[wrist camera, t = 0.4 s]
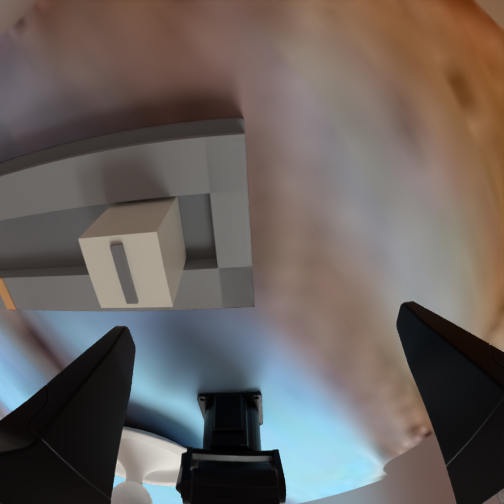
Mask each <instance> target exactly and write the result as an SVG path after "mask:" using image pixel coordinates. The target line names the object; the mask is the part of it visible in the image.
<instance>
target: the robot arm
mask: <svg viewBox="0 0 504 504" xmlns="http://www.w3.org/2000/svg"><path fill="white" fill-rule="evenodd" d="M396 326H397V330H398V333H399V337H400V340H401V343H402V346H403V349H404V353H405V356H406V359H407V362H408V365H409V368H410V370H411V373H412V375H413V377H414V380H415V382H416V385H417V387H418V390H419V392H420V395H421V397H422V400H423V402H424V405H425V407H426V410H427V413H428V415H429V418H430V421H431V423H432V426H433V429H434V432H435V435H436V437H437V440H438V443H439V446H440V449H441V452H442V455H443V458H444V461H445V464H446V468H447V471H448V475H449V478H450V481H451V485H452V488H453V491H454V495H455V499H456V503H457V504H485V503H487V502H489V501H491V500H492V499H494V498H495V497H497V498H498V500H499V503H500V504H504V352H503V351H501V350H499V349H497V348H496V347H494V346H492V345H489V343H487V342H485V341H483V340H482V339H480V338H478V337H476V336H475V335H473V334H471V333H469V332H468V331H466V330H464V329H462V328H461V327H459V326H457V325H455V324H453V323H452V322H450V321H448V320H446V319H444V318H443V317H441V316H439V315H437V314H435V313H434V312H432V311H430V310H428V309H426V308H424V307H423V306H421V305H419V304H417V303H415V302H413V301H410V302H404V303H402V304H401V306H400V310H399V314H398V318H397V323H396ZM135 351H136V350H135V344H134V341H133V339H132V336H131V333H130V331H129V329H128V327H126V326H116V327H114V328H113V329H111V330H110V331H109V332H108V333H107V334H105V335H104V336H103V337H102V338H101V339H99V340H98V341H97V342H96V343H95V344H93V345H92V346H91V347H90V348H89V349H87V350H86V351H85V352H84V353H83V354H81V355H80V356H79V357H78V358H77V359H76V360H74V361H73V362H72V363H71V364H70V365H68V366H67V367H66V368H65V369H64V370H63V371H61V372H60V373H59V374H58V375H57V376H56V377H54V378H53V379H52V380H51V381H50V382H49V383H47V385H45V386H44V387H43V388H42V389H40V390H39V391H38V392H37V393H36V394H34V395H33V396H32V397H31V398H30V399H28V400H27V401H26V402H24V403H23V404H22V405H20V406H19V407H18V408H16V409H15V410H14V411H12V412H11V413H10V414H8V415H7V416H6V417H4V418H3V419H1V420H0V504H111V497H112V490H113V483H114V476H115V470H116V464H117V458H118V452H119V447H120V441H121V436H122V431H123V425H124V420H125V416H126V411H127V406H128V401H129V397H130V392H131V385H132V376H133V367H134V359H135ZM197 400H198V403H199V406H200V409H201V412H202V415H203V418H204V436H203V449H200V448H193V447H187V451H186V452H184V453H182V455H181V465H180V470H179V475H178V479H177V483H176V490H177V491H178V492H179V493H180V494H181V498H182V499H183V504H285V500H286V484H285V478H284V473H283V468H282V464H281V459H280V455H279V450H278V449H276V450H269V451H261V440H260V425H262V424H263V414H262V394H261V393H260V392H246V393H219V394H198V397H197Z"/></svg>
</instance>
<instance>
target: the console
mask: <svg viewBox="0 0 504 504" xmlns="http://www.w3.org/2000/svg"><path fill="white" fill-rule="evenodd" d="M171 196H178V203H179V210H180V217H181V224H182V230H183V237H184V243H185V249H186V255H187V258H186V261H185V265H184V268H183V272H182V275H181V279H180V282H179V286H178V290H177V293H176V297H175V301H174V305H173V307H146V308H101V306H100V303H99V301H98V298H97V295H96V292H95V290H94V287H93V284H92V281H91V278H90V275H89V272H88V269H87V266H86V263H85V260H84V257H83V253H82V250H81V247H80V243H79V240H78V239H79V237H80V236H81V235H82V234H83V233H84V232H85V231H86V230H87V229H88V228H89V227H90V226H91V225H92V224H93V223H94V222H95V221H96V220H97V219H98V218H99V217H100V216H101V215H102V214H103V213H104V212H105V211H106V210H107V209H108V208H109V207H110V206H111V205H112V204H113V203H116V202H124V201H133V200H142V199H151V198H161V197H171ZM238 307H254V290H253V272H252V254H251V236H250V218H249V200H248V182H247V164H246V145H245V132H244V118H243V117H233V118H220V119H208V120H198V121H188V122H180V123H172V124H164V125H157V126H151V127H144V128H138V129H132V130H126V131H121V132H116V133H110V134H105V135H101V136H96V137H91V138H87V139H82V140H78V141H74V142H70V143H66V144H62V145H58V146H54V147H50V148H47V149H43V150H40V151H36V152H33V153H29V154H26V155H23V156H20V157H17V158H13V159H10V160H7V161H4V162H1V163H0V308H7V309H12V310H16V309H28V310H58V311H164V310H196V309H219V308H238Z"/></svg>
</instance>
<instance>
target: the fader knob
mask: <svg viewBox="0 0 504 504" xmlns="http://www.w3.org/2000/svg"><path fill="white" fill-rule="evenodd" d="M78 240H79V243H80V247H81V250H82V253H83V257H84V260H85V263H86V266H87V269H88V272H89V275H90V278H91V281H92V284H93V287H94V290H95V292H96V295H97V298H98V301H99V303H100V306H101V308H146V307H173V305H174V301H175V297H176V293H177V290H178V286H179V282H180V279H181V275H182V272H183V268H184V265H185V261H186V258H187V255H186V249H185V243H184V237H183V230H182V224H181V217H180V210H179V203H178V196H171V197H161V198H151V199H142V200H133V201H124V202H116V203H113V204H112V205H111V206H110V207H109V208H108V209H107V210H106V211H105V212H104V213H103V214H102V215H101V216H100V217H99V218H98V219H97V220H96V221H95V222H94V223H93V224H92V225H91V226H90V227H89V228H88V229H87V230H86V231H85V232H84V233H83V234H82V235H81V236H80V237H79V239H78Z"/></svg>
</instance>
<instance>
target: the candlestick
mask: <svg viewBox="0 0 504 504" xmlns="http://www.w3.org/2000/svg"><path fill="white" fill-rule="evenodd" d="M186 451H187V449H186V448H184V447H182V446H181V445H179V444H177V443H175V442H173V441H171V440H169V439H167V438H165V437H161V436H159V435H156V434H154V433H150V432H146V431H143V430H140V429H134V428H130V427H124V426H123V431H122V436H121V441H120V447H119V452H118V458H117V464H116V470H115V475H118V476H120V477H123V478H126V481H125V482H122V483H120V484H118V485H117V486H116V487H115V488H114V489H113V490H112V497H111V504H153V503H152V499H151V497H150V495H149V493H148V491H147V490H146V489H145V488H144V487H143V486H142V483H147V484H153V485H162V486H176V483H177V479H178V475H179V470H180V465H181V455H182V453H184V452H186Z"/></svg>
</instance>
